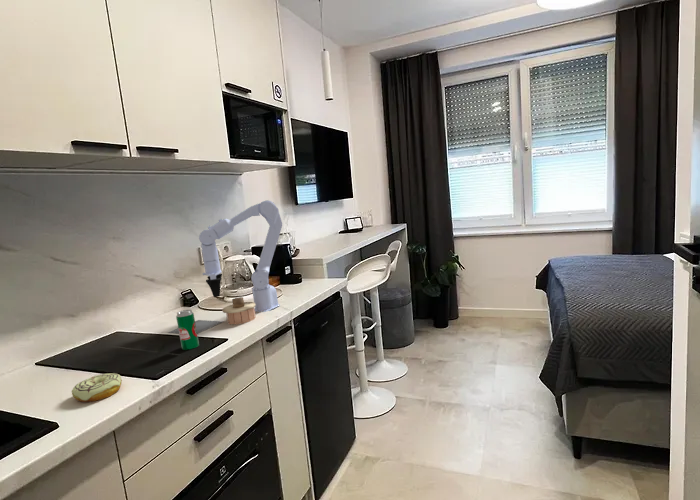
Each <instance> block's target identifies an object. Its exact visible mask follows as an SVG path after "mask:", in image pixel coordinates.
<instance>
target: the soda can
mask: <svg viewBox="0 0 700 500" xmlns="http://www.w3.org/2000/svg"><path fill="white" fill-rule="evenodd" d="M175 318H176V324H177V328H178V330H179V334H178V335H179V340H180V345H181V349H182V350H183V351H189V350H190V351H191V350H194V349H196V348H198V347H199V346H200V341H199V337H198V335H199V334H197V330H196V324H195V321H196V319H195V314H194V312H193V310H192V309H184V310H180V311H177V312H176V316H175Z"/></svg>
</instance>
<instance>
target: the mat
mask: <svg viewBox="0 0 700 500" xmlns="http://www.w3.org/2000/svg"><path fill="white" fill-rule="evenodd" d="M223 323H225V321H222V320H207V319H206V320H202V319H197V320H195V324H196V330H197V335H199V333H200V334H201V333H202V332H204V331H207V330H208V329H210V328H213V327H215V326H219V325H221V324H223ZM167 334H178V335H179V330H178V327H177V328H175V329H173V330H171V331H168V332H167Z"/></svg>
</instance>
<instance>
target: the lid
mask: <svg viewBox="0 0 700 500" xmlns="http://www.w3.org/2000/svg"><path fill="white" fill-rule="evenodd" d="M231 302H232V304H230V305H227V306H224V307H223V308H222V309H221V310H222V313H224V314H226V313H237V312H242V311H246V310H249V309H252V308H254V309H255V306H256V305H255V303H254V301H245V300H244V297H242V296H241V297H235V298H233V299H232V300H231Z"/></svg>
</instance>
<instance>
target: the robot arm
mask: <svg viewBox="0 0 700 500" xmlns="http://www.w3.org/2000/svg"><path fill="white" fill-rule="evenodd" d="M259 216H262V217H263V218H264V219H265V220H266V222H267V224H268V226H269V227H268V230H267V234H266V237H265V241H264V244H263V247H262V251H261V253H260V256H259V259H258V260H259V261H258V263H257V265H256V269H255V270H254V272H253V273H252V274H251V283H252V285H253V287H252V288H251V290H252V297H253V302H254V303H255V305H256V306H255V307H254V309H255V313H257V312H258V313H259V312H261V313H266V312H269V311H272V310H274V309H277V308H278V307H280V306H281V304H279V300H278V293H277V289H276V287H275V286H273V285H271V284H270V283H269V282H270V280H269V274H270V268H271V264H272V260H273V257H274V255H275V252H276V248H277V244H278V242H279V237H280V235H281V232H282V227H283V221H282V218H281V215H280V211H279V208H278V207H277V205H276V203H274V202H273V201H272V200H269V199H268V200H263V201H261V202H259V203H257V204H254V205H251V206H249V207H247V208H246V209H245V210H243V211H241V212H239V213H238V214H237V215H235V216H232V218H223V219H222V218H220V219H218V222H216V223H214V224H213V225H209V226H207V229H203V230H202V231H201V232H200V234H199V236H198V239H199V241H200V243H201V245H200V248H201V254H202V260H203V265H204V266H203V267H204V272H202V276H207V277H206V278H207V279H206V280H205V282H206V285H208V287H209V289H210V291H211V295H212V296H213V298H218V297H220V295H221V281H222V276H223V272H222V270H221V263H220V256H219V250H218V247H217V245H216V244H217V243H216V240H221V239H222V238H224V237H225V236H227V235H228V234H229V235H230V234H231V233H232V232H233V231H234V228H235V227H236V226H237V225H239V224H240V223H243V222H244V221H246V220H248V219H250V218H252V217H259Z"/></svg>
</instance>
